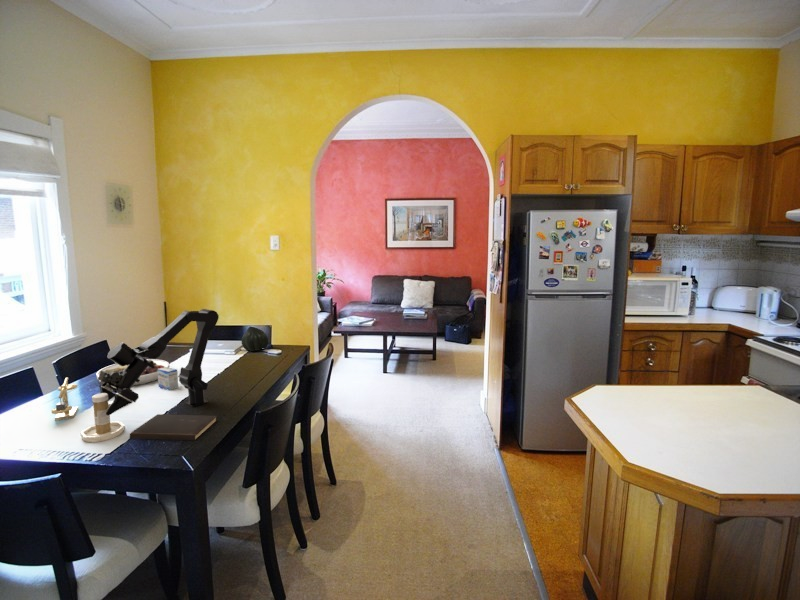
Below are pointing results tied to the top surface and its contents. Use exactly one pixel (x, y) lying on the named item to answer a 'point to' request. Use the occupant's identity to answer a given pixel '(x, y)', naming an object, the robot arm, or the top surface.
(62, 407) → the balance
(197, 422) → the hardcover book
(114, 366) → the bowl
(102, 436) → the cream dish
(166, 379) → the medicine box
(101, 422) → the sprinkles bottle
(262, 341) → the squash
